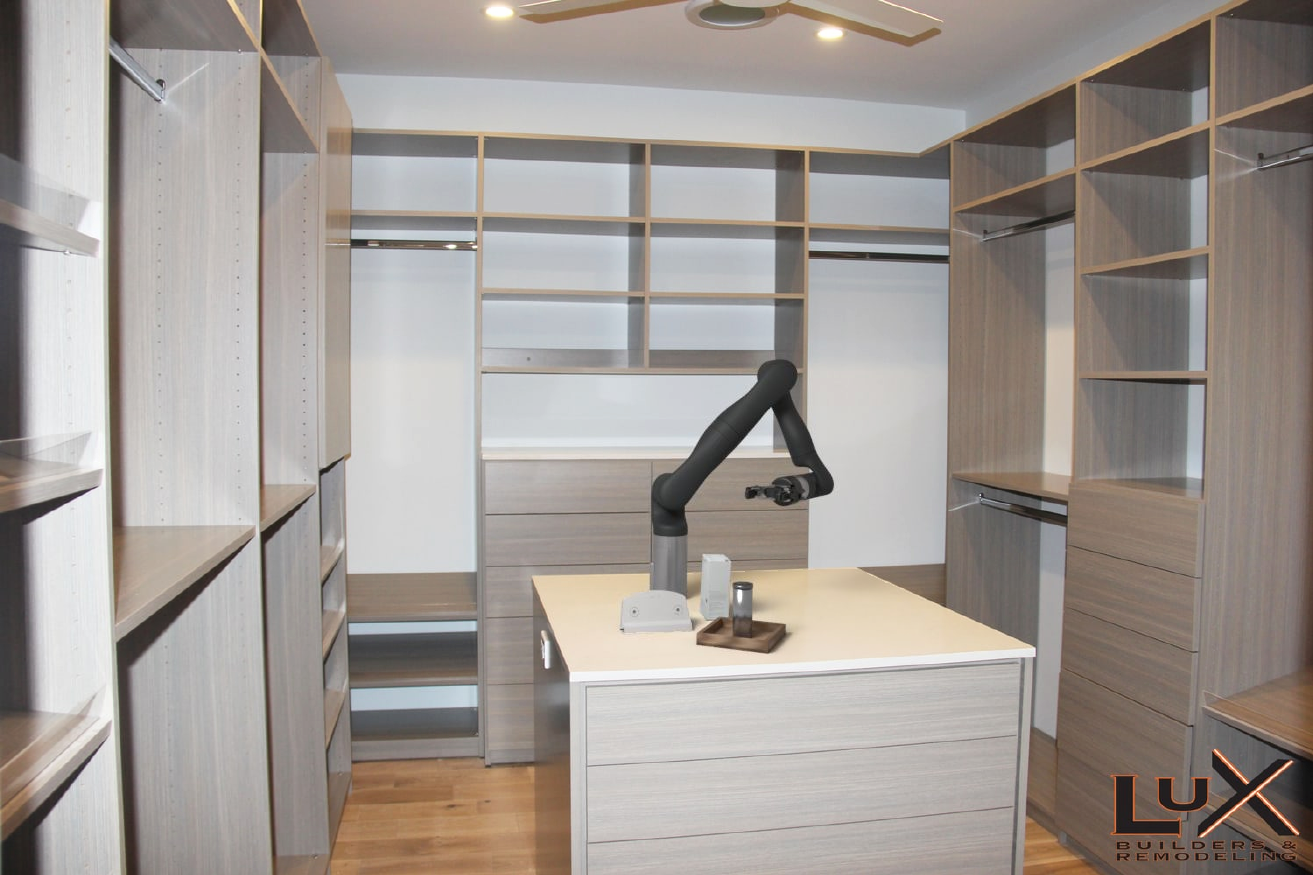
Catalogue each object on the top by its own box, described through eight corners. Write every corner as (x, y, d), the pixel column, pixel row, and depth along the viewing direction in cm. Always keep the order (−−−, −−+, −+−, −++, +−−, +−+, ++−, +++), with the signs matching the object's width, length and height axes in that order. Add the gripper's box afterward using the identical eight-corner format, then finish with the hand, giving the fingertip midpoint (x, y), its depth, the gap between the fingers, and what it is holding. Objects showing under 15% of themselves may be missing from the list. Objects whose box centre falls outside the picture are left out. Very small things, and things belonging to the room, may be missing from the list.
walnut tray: (696, 644, 198) (696, 633, 198) (719, 626, 213) (719, 616, 213) (767, 653, 192) (767, 641, 192) (785, 634, 207) (785, 623, 207)
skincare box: (699, 612, 226) (700, 553, 225) (722, 611, 227) (723, 553, 226) (706, 621, 218) (707, 560, 217) (730, 620, 219) (732, 559, 218)
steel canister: (728, 637, 202) (728, 584, 201) (737, 632, 206) (738, 580, 205) (746, 640, 199) (747, 586, 199) (755, 635, 203) (756, 582, 202)
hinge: (623, 634, 205) (620, 590, 208) (619, 636, 210) (616, 592, 212) (694, 630, 209) (690, 587, 212) (688, 632, 214) (685, 589, 216)
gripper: (764, 473, 237) (736, 478, 223) (816, 477, 230) (790, 482, 216) (764, 502, 238) (736, 509, 224) (815, 506, 230) (789, 513, 216)
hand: (762, 496), depth 220 cm, fingers open, 8 cm apart
